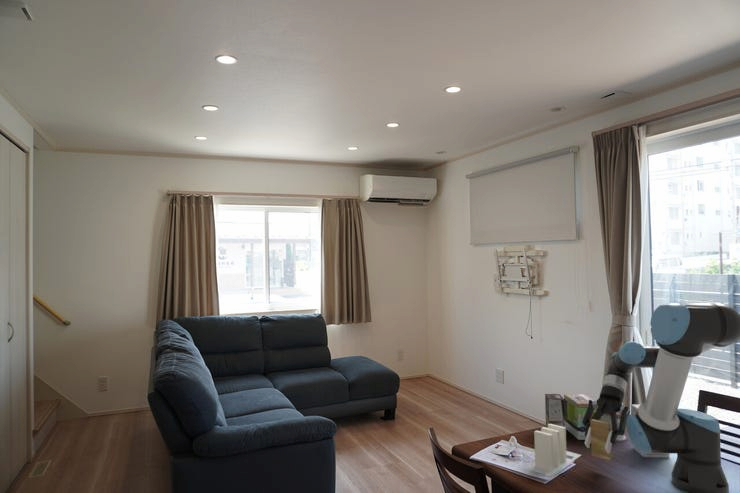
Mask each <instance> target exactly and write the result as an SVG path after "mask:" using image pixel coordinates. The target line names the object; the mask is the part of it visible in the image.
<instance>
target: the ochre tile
mask: <svg viewBox="0 0 740 493" xmlns="http://www.w3.org/2000/svg"><path fill="white" fill-rule="evenodd" d="M590 422H591V443H590V447H591V448H590V449H591V450H590V451H591V456H594V457H597V458H600V459H604V460H609V461H610V460H612V448H611V449H610V453H607V452H606V450H605V446H606V442H607V438H608V435H609V431H611V430H610V423H608V422H603V421H602V420H601V421H599V420H594V419H592V420H590Z"/></svg>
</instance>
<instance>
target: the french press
mask: <svg viewBox="0 0 740 493" xmlns="http://www.w3.org/2000/svg"><path fill="white" fill-rule="evenodd" d="M622 406H624V402H623V403H622ZM621 413H622V411H621V410H620V411H618V412H617V413H616V415H617V428H618V429H619V424H620V418H621ZM606 416H607V417H606ZM601 421H603V422H608V423H610V430H611V432H613V431H612V422H611V415H609V414H604V415H603V416H601ZM624 440H627V436H626V435H625V434H624V435H623V436H622V435H618V436H617V438H616V441H624Z"/></svg>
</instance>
